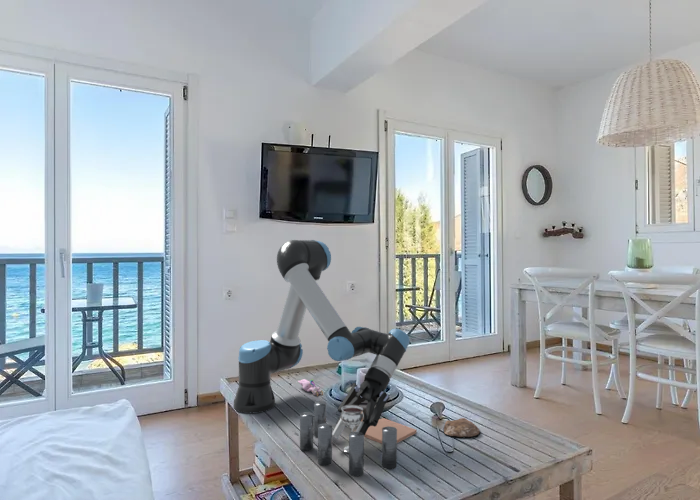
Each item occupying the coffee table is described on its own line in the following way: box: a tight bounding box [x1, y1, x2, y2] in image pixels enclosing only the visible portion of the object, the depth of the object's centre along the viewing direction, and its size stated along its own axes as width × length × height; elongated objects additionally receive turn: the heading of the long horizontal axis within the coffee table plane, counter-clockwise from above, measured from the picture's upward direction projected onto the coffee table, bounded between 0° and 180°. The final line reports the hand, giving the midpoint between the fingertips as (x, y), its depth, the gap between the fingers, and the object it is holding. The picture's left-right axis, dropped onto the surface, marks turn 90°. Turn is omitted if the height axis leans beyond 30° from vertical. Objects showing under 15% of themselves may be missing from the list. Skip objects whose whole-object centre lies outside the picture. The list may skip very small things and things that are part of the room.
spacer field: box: [299, 400, 398, 478], centre depth 126 cm, size 32×15×10 cm, turn 47°
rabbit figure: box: [297, 378, 324, 398], centre depth 182 cm, size 6×6×15 cm
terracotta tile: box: [354, 417, 417, 445], centre depth 142 cm, size 14×14×1 cm
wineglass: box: [340, 405, 365, 454], centre depth 130 cm, size 7×7×12 cm
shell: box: [443, 417, 481, 439], centre depth 144 cm, size 12×13×4 cm
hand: (343, 440), depth 128 cm, fingers closed on wineglass, 7 cm apart
